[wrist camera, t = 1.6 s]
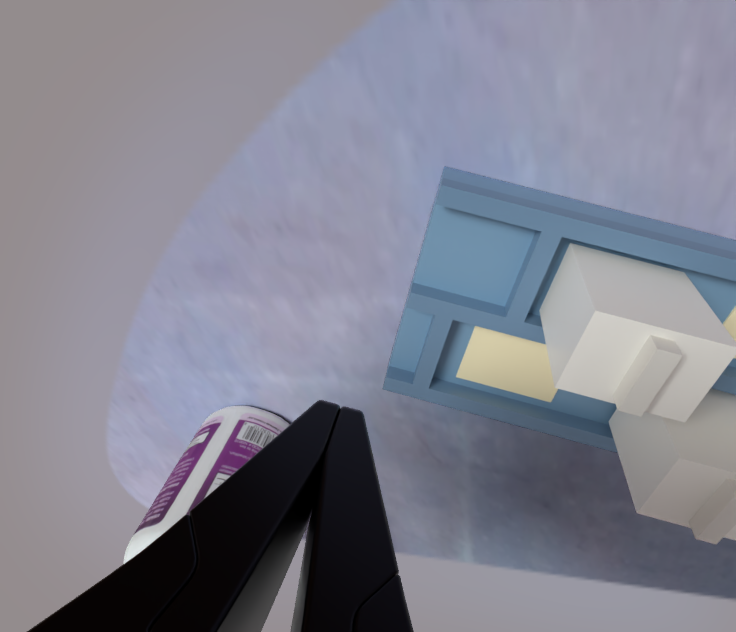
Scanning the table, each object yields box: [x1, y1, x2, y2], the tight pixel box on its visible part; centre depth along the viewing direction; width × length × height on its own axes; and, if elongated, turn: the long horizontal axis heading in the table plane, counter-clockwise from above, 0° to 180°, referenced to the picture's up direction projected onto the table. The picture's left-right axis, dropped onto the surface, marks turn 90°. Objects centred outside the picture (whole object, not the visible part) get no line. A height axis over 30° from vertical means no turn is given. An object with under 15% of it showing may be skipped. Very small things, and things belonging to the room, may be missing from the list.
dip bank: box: [383, 166, 736, 453], centre depth 18 cm, size 15×8×2 cm, turn 79°
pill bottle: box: [124, 406, 290, 564], centre depth 21 cm, size 5×5×10 cm
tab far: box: [608, 388, 736, 545], centre depth 16 cm, size 4×2×5 cm
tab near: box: [539, 243, 736, 423], centre depth 15 cm, size 4×2×5 cm
